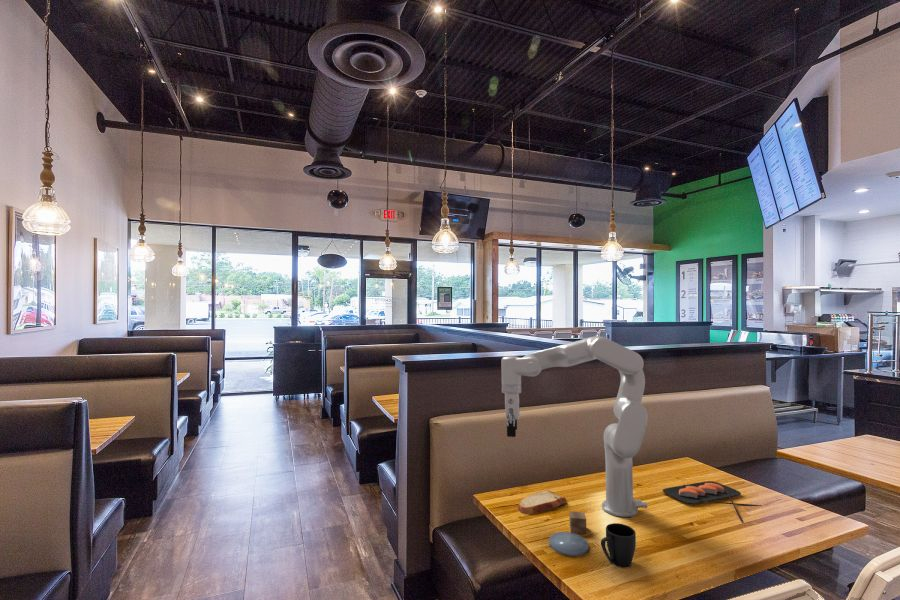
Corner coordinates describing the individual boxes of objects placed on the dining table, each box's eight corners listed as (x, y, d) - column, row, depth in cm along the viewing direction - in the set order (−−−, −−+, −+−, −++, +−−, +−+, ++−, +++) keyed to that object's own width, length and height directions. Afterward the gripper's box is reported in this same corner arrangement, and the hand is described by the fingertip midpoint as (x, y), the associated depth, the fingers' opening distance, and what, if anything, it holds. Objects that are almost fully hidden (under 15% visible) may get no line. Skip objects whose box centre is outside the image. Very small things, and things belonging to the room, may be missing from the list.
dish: (585, 537, 140) (585, 533, 141) (590, 558, 129) (590, 553, 129) (548, 534, 143) (548, 530, 143) (550, 554, 131) (550, 549, 131)
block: (584, 526, 148) (584, 512, 148) (586, 534, 143) (586, 519, 143) (569, 525, 149) (569, 511, 149) (571, 532, 144) (570, 517, 144)
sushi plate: (712, 484, 185) (712, 475, 185) (786, 515, 156) (785, 504, 156) (659, 493, 175) (658, 484, 176) (727, 528, 147) (726, 517, 147)
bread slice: (517, 514, 158) (516, 504, 158) (520, 494, 175) (520, 485, 176) (567, 519, 154) (567, 508, 154) (566, 498, 171) (566, 489, 171)
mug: (591, 563, 126) (590, 530, 126) (619, 551, 132) (618, 520, 132) (613, 578, 119) (613, 543, 119) (642, 565, 125) (641, 532, 125)
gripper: (520, 392, 156) (521, 440, 156) (522, 385, 173) (522, 427, 173) (499, 392, 158) (500, 439, 157) (503, 384, 175) (504, 426, 174)
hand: (512, 433), depth 165 cm, fingers open, 9 cm apart
